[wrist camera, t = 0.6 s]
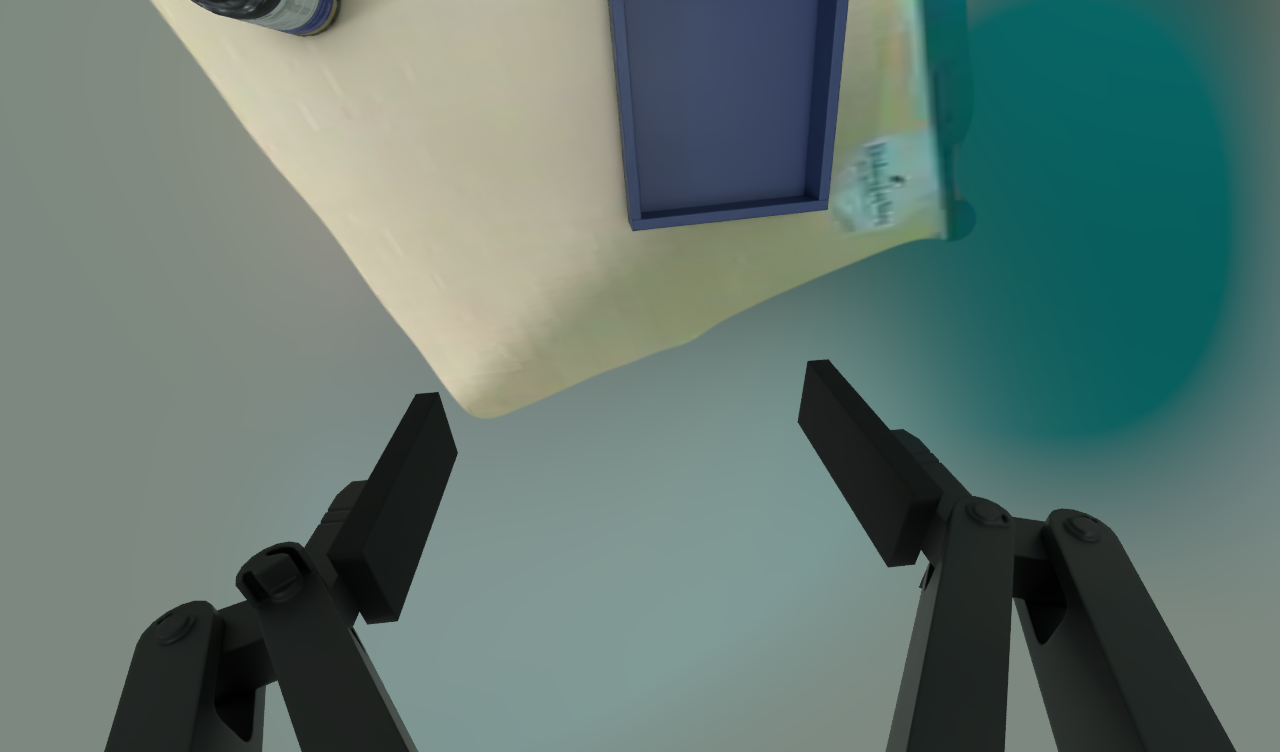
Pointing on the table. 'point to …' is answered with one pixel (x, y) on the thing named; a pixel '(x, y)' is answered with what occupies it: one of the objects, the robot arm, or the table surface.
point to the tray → (726, 106)
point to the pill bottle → (279, 13)
